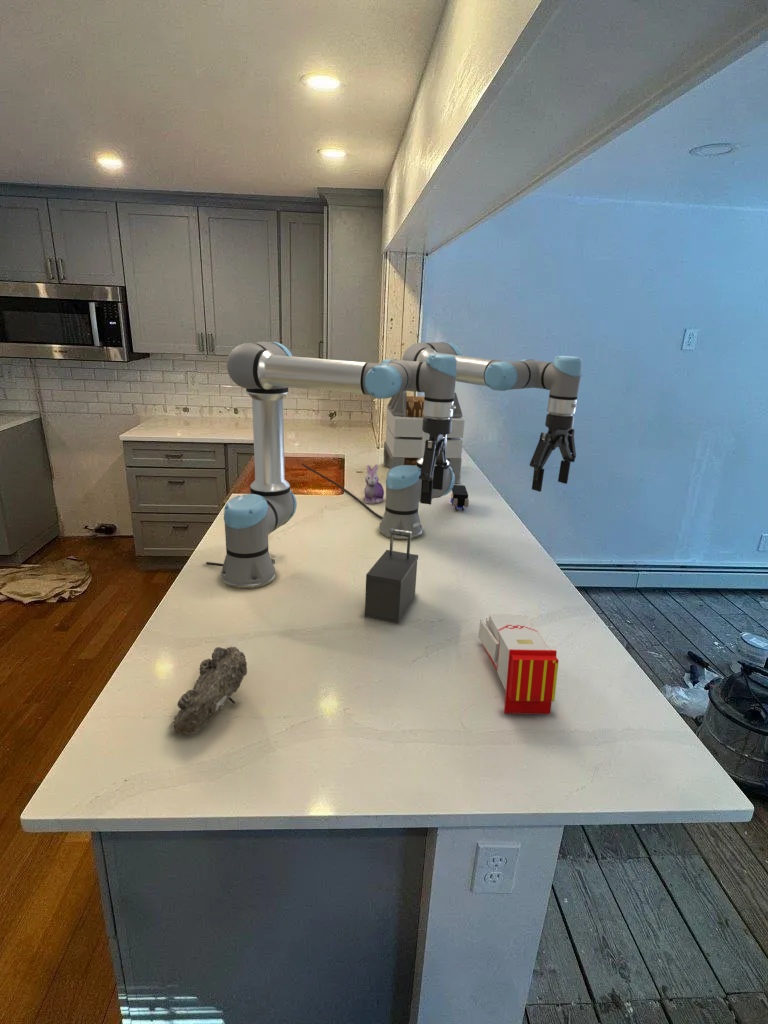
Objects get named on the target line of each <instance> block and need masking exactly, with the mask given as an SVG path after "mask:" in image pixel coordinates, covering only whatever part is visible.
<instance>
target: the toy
mask: <svg viewBox="0 0 768 1024" xmlns="http://www.w3.org/2000/svg"><path fill="white" fill-rule="evenodd" d="M477 635H478V637H477V638H478V639H479V641H480V643H481V645H482V647H483V649H484V651H485V652H486V654H487V655H488V658H489V659H490V661H491V663H492V665H493V667H494V669H495V671H496V672H497V675H498V677H499V679H500V682H501V684H502V685H503V688H504V690H505V699H504V709H503V712H504V714H522V715H523V714H528V715H535V714H536V715H540V714H541V715H551V710H552V702H555V700H556V699H555V698H556V688H557V679H558V672H559V671H558V669H559V661H560V660H559V659H558V658H557V649H551V648H550V646H549V645H548V643H547V642H546V640H545V639H544V638H543V636H542V635H541V634H540V632H539V630H538V629H536V626H535V624H533V622H532V619H530V618H529V617H528V615H527V614H501V613H500V614H495V613H493V614H492V613H489V614H488V616H486V617H485V622H484V620H483V619H480V620H479V628H478V634H477Z"/></svg>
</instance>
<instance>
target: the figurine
mask: <svg viewBox="0 0 768 1024" xmlns="http://www.w3.org/2000/svg"><path fill="white" fill-rule="evenodd" d="M378 469H379V465H378V464H375V465H374V466H373V468H371V465H369V464H368V465H366V475H365V479H364V480H365V484H366V485H365V487H364V492H363V493H364V497H363V501H364V504H370V505H374V504H379V503H381V502H383V501H384V497H385V496H384V495H385V490H384V487H383V484H381V483H380V482H379V481H380V478H379V475H378V473H377V472H378Z"/></svg>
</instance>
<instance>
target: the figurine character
mask: <svg viewBox="0 0 768 1024" xmlns="http://www.w3.org/2000/svg"><path fill="white" fill-rule="evenodd" d="M449 502H450V504H451V506H452V507H453V508H454V511H456V512H457V511H458V509H461V511H462V512H464V511H465V508H469V505H470V500H469V492H468V490H467V488H466V485H464V484H463V485H461V484H454V486H453V488H452V490H451V494H450V501H449Z"/></svg>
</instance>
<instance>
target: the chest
mask: <svg viewBox="0 0 768 1024" xmlns="http://www.w3.org/2000/svg"><path fill="white" fill-rule="evenodd" d="M417 572H418V560H417V561H416V563H415V564H414V566H413V567H412V569H411V570H410V572H409V574H408V575H407V577H406V578H405V580H404V581H403V583H402V584H401V585H397V584H392V583H387V582H381V581H376V580H371V579H366V578H365V597H364V598H365V599H364V617H366V618H371V619H376V620H380V621H384V622H385V621H386V622H390V623H395V624H399V623H400V622H401V620H402V618H403V616H404V615H405V613H406V612H407V610H408V608H409V606H410V605H411V603H412V602H413V599H414V598H415V597H416V589H417V588H416V587H417Z"/></svg>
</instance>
